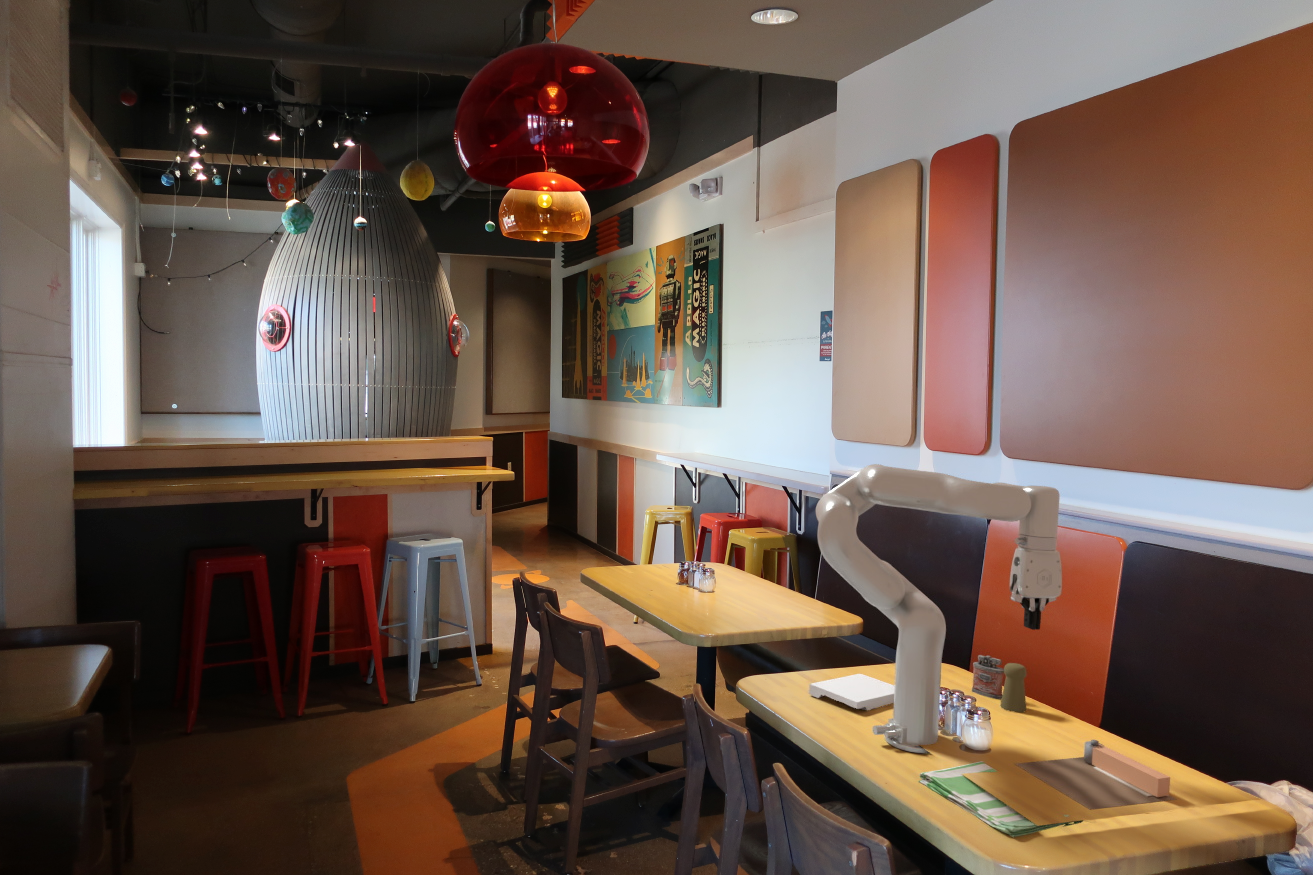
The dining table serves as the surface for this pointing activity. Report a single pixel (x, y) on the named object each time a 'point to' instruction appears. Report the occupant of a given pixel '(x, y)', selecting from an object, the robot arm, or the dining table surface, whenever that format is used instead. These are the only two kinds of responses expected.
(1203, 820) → the dining table surface
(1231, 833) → the dining table surface
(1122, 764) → the folding leg
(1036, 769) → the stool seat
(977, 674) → the lighter
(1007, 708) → the olive pepper mill
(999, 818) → the dish towel
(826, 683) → the white flat block
